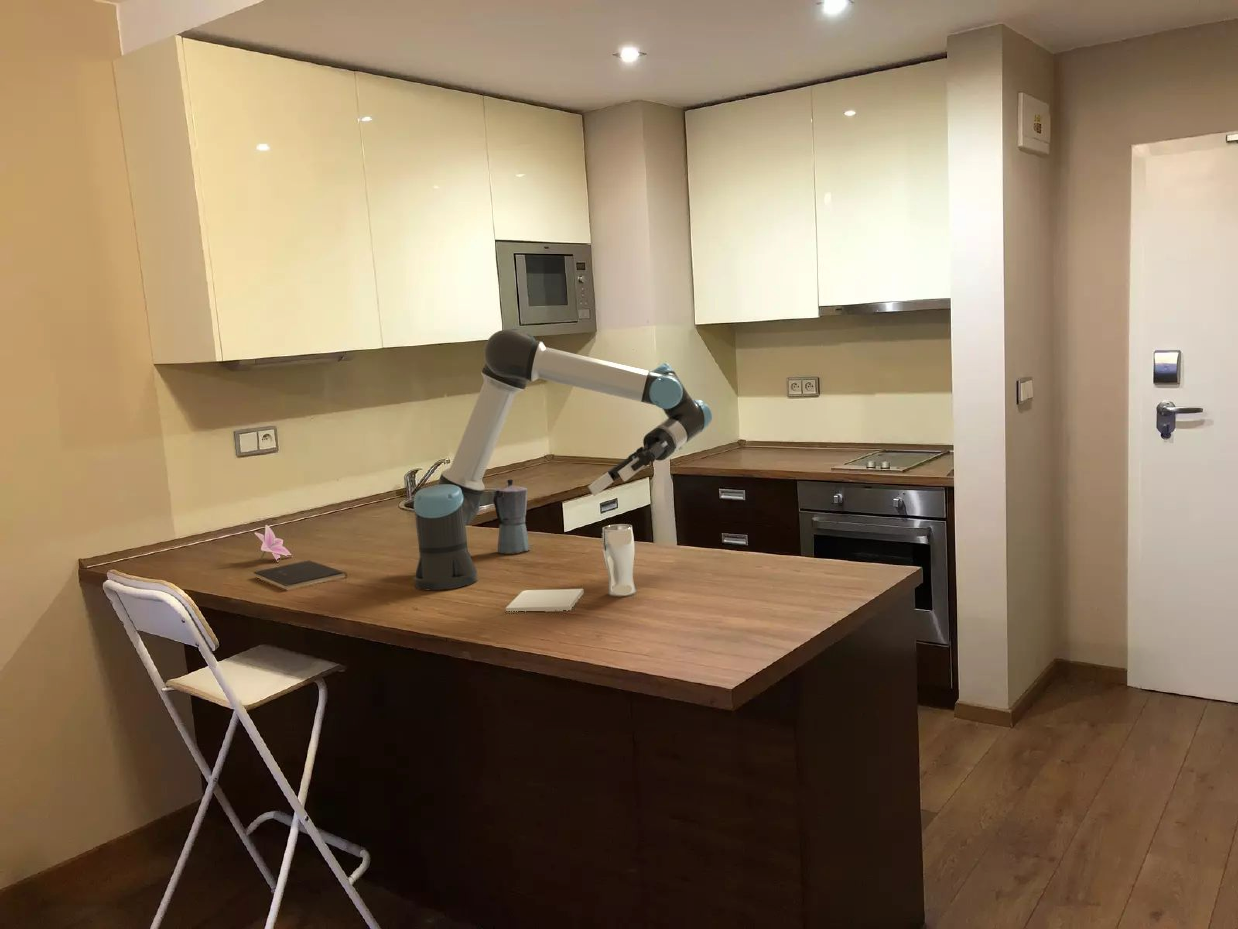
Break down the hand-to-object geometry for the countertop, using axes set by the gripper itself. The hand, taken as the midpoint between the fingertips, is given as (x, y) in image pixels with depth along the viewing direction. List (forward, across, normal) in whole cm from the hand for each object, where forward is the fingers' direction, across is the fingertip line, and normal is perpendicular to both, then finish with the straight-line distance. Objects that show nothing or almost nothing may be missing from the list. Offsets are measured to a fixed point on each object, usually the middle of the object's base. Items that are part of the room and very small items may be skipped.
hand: (606, 483), depth 227 cm
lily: (+43, +102, +29) cm, 114 cm away
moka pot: (+2, +54, -6) cm, 54 cm away
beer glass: (+14, -3, -22) cm, 26 cm away
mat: (+28, +4, -13) cm, 31 cm away
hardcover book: (+48, +74, +20) cm, 90 cm away
